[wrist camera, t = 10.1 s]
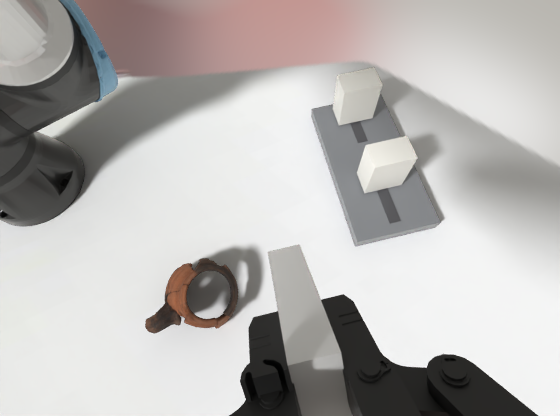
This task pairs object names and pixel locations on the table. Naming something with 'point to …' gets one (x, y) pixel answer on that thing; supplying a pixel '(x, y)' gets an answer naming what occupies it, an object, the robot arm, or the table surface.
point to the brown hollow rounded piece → (178, 299)
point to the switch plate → (355, 203)
